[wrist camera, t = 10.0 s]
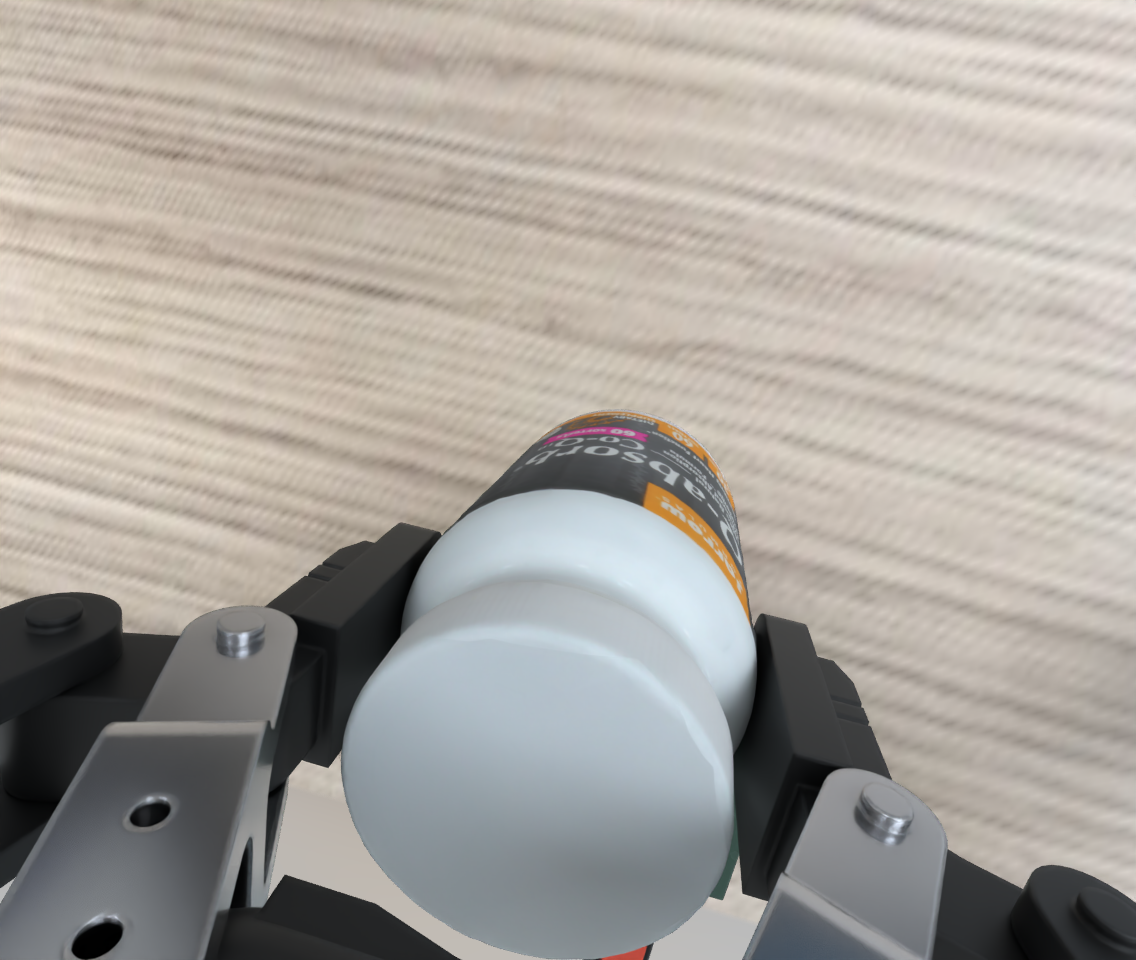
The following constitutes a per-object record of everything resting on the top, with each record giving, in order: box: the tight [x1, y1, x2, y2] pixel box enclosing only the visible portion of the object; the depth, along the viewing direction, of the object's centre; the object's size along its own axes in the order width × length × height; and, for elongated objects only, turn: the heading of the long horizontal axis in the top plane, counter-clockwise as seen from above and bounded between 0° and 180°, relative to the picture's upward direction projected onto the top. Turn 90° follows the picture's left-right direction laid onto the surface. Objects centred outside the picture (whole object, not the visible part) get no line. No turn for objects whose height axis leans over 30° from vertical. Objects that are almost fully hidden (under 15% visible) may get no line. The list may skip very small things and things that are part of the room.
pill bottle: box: [341, 410, 757, 960], centre depth 12 cm, size 6×6×10 cm
